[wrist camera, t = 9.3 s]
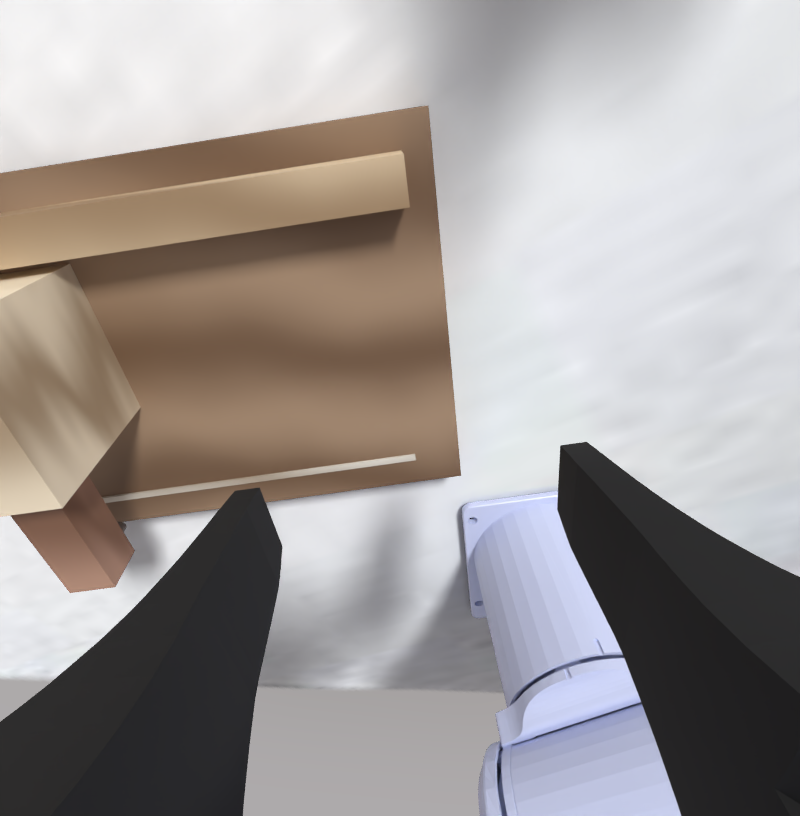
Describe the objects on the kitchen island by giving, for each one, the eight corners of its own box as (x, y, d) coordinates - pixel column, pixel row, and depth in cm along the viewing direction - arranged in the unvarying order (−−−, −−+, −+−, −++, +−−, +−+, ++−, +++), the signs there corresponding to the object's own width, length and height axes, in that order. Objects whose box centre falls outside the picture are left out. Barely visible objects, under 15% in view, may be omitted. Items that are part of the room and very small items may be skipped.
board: (456, 456, 24) (466, 497, 22) (68, 509, 25) (33, 555, 22) (423, 106, 16) (433, 105, 14) (-145, 196, 17) (-236, 211, 14)
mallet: (184, 496, 23) (131, 608, 18) (102, 508, 23) (25, 622, 18) (69, 263, 17) (-60, 329, 12) (-41, 280, 17) (-215, 353, 12)
